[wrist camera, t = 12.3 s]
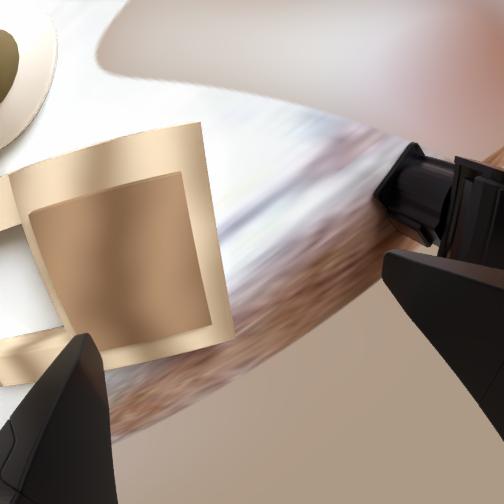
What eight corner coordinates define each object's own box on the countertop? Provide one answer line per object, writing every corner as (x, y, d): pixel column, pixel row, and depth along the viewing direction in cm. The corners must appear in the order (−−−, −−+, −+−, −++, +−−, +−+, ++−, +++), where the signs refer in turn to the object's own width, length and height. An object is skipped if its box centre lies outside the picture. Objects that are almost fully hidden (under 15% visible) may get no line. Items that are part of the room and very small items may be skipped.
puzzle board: (194, 121, 18) (203, 122, 15) (227, 319, 25) (239, 345, 22) (-75, 213, 13) (-97, 228, 10) (-1, 368, 19) (-10, 393, 17)
